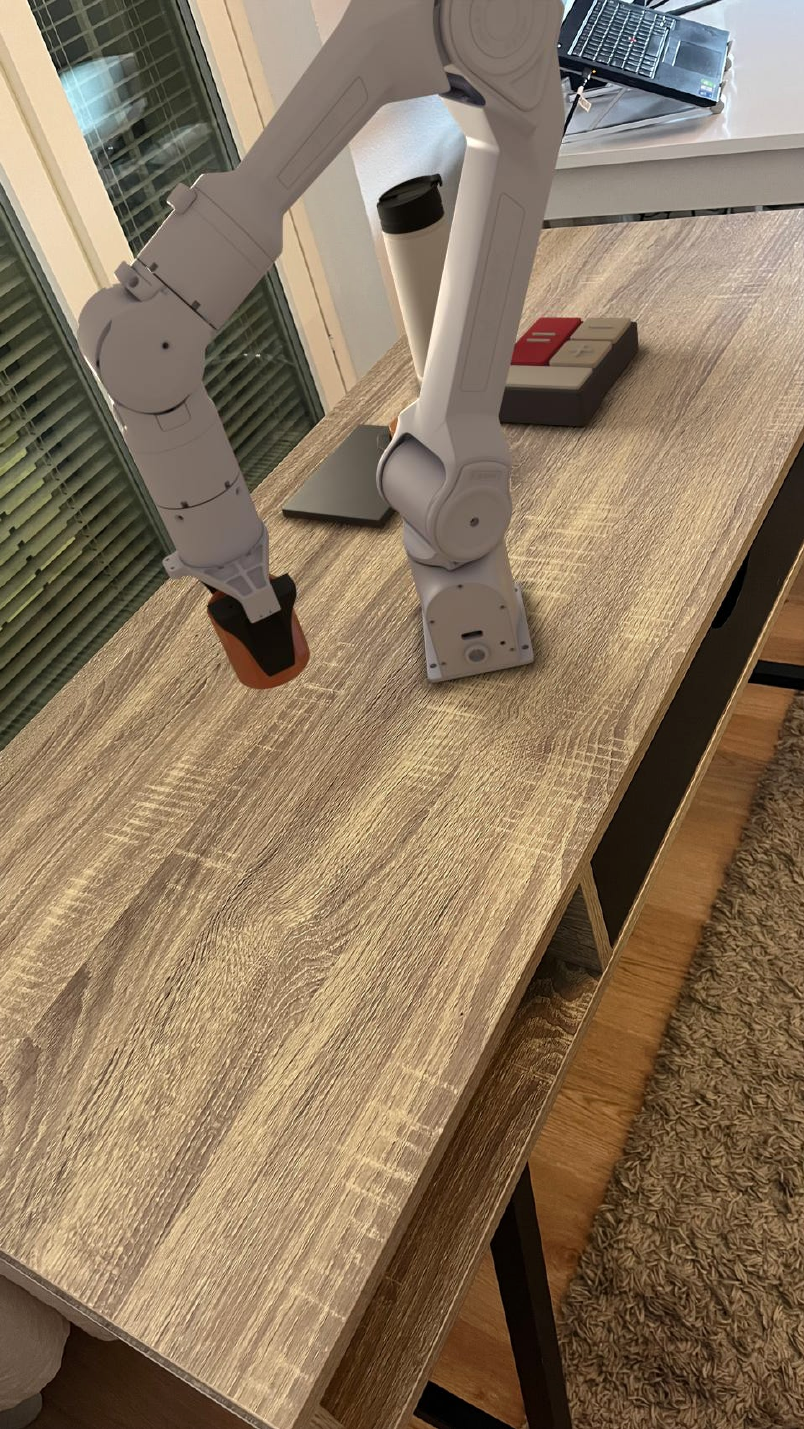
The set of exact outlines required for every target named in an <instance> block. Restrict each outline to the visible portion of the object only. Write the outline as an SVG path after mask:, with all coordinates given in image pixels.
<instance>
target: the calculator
mask: <svg viewBox="0 0 804 1429" xmlns="http://www.w3.org/2000/svg"><path fill="white" fill-rule="evenodd" d="M639 347H640V344H639V330H638V323H637V322H636V321H632V320H631V318H630V317H587V318H585V319H584V320H582V318H581V317H557V316H556V317H554V316H553V317H551V316H550V317H549V316H548V317H545V316H543V317H539V318H538V319H536V320H535V321H534V323H533V324H532V325H531V326H530V327H529V328H528V329H527V330H526V331H525V332H524V334H522V336H520V338H519V339H517V340H516V341H515V346H514V350H513V355H512V359H511V363H510V368H509V372H508V376H507V381H506V385H505V389H504V394H503V398H502V402H501V407H500V411H499V421H500V423H501V422H503V423H517V424H518V423H519V424H532V425H533V424H534V425H535V424H536V425H549V426H550V425H552V426H567V427H585V426H587V424H588V423H589V421H590V420H591V419H592V418H593V417H594V415H595V414H596V413H597V411H598V410H599V409H600V407H601V403H602V400H603V397H604V396H605V394H606V393H607V392H608V391H609V389H610V388H611V387H612V386H613V384H614V383H615V382H616V380H617V379H618V378H619V377H620V375H621V374H622V373H623V371H624V370H625V368H626V367H627V366H628V364H630V362H631V361H632V360H633V358H634V357H635V355H637V353H638V352H639V350H640V348H639Z"/></svg>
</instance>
